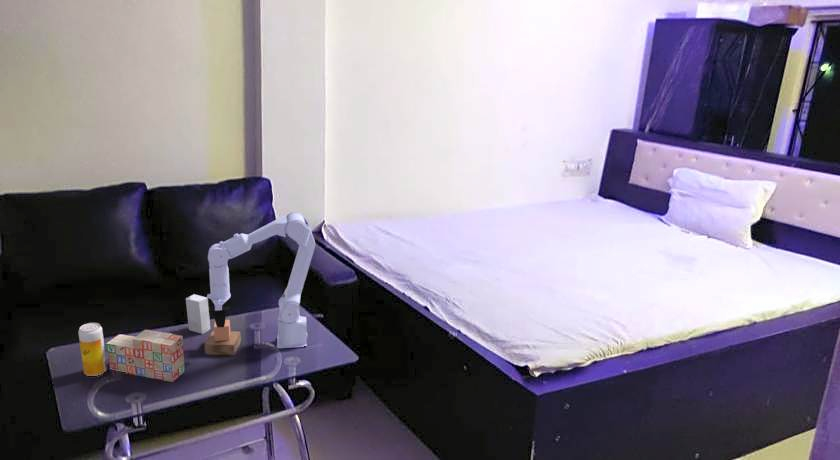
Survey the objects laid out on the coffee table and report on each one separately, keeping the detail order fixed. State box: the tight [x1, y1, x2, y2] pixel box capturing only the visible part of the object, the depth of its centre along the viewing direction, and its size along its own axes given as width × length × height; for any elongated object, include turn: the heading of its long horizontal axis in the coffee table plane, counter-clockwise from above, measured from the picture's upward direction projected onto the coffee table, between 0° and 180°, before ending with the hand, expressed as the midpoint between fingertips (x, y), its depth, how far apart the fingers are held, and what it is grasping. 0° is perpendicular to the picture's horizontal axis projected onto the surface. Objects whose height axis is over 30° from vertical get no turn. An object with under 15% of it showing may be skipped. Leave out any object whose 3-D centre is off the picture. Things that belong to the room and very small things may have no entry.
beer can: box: [78, 322, 108, 377], centre depth 178 cm, size 6×6×15 cm
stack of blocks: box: [105, 329, 186, 383], centre depth 181 cm, size 21×6×12 cm, turn 78°
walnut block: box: [204, 330, 242, 356], centre depth 197 cm, size 9×9×4 cm
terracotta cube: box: [213, 319, 231, 341], centre depth 196 cm, size 4×4×5 cm
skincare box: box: [185, 293, 211, 335], centre depth 206 cm, size 6×4×12 cm
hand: (221, 321), depth 195 cm, fingers open, 7 cm apart
